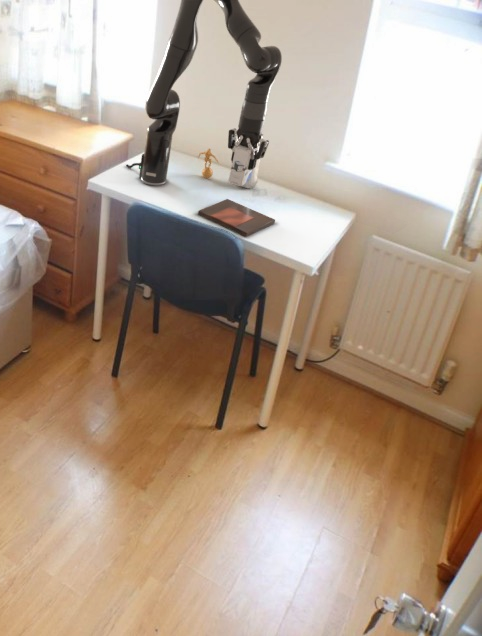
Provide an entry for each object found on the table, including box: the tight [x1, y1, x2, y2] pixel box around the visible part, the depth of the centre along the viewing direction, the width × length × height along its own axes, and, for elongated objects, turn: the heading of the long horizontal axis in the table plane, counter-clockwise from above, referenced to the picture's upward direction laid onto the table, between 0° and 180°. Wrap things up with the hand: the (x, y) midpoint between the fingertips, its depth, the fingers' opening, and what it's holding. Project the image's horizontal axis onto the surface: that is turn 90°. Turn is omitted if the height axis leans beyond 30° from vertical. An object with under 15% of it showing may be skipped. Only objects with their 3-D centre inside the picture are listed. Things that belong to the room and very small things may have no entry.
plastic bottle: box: [241, 133, 264, 189], centre depth 258 cm, size 6×7×20 cm
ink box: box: [227, 144, 254, 187], centre depth 228 cm, size 9×5×12 cm, turn 148°
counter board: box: [197, 198, 276, 238], centre depth 241 cm, size 20×16×2 cm
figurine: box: [197, 148, 219, 179], centre depth 265 cm, size 8×6×12 cm
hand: (242, 166), depth 229 cm, fingers closed on ink box, 5 cm apart
